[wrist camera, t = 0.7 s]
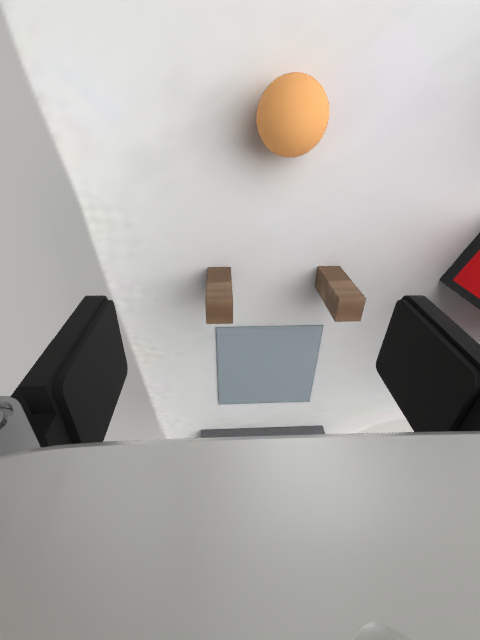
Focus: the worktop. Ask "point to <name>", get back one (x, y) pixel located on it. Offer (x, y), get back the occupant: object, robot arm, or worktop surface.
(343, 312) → the post
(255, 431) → the wall
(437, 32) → the worktop surface
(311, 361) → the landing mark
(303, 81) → the ball
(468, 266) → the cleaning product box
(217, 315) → the post
